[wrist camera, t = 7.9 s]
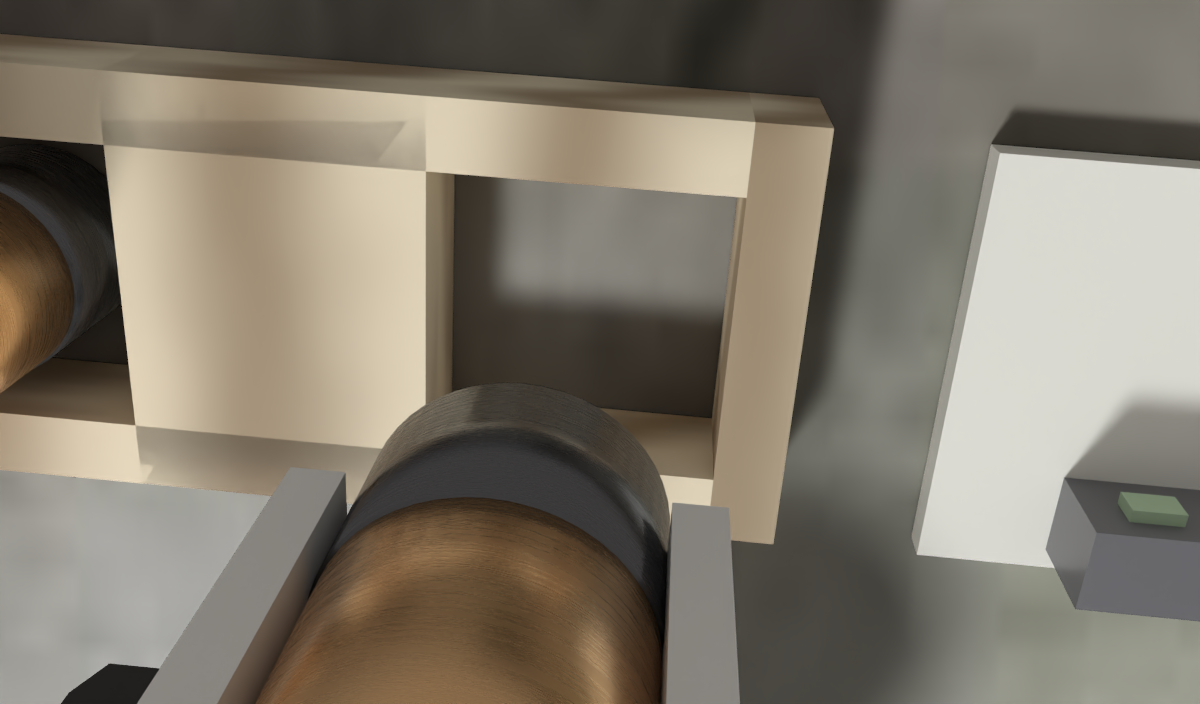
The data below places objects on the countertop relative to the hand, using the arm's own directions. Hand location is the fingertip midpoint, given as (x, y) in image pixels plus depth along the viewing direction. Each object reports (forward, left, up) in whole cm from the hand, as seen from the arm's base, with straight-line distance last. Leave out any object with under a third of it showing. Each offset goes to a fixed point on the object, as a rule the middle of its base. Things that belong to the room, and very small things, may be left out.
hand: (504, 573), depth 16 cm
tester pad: (-15, +1, -12) cm, 19 cm away
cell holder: (+6, 0, -12) cm, 14 cm away
